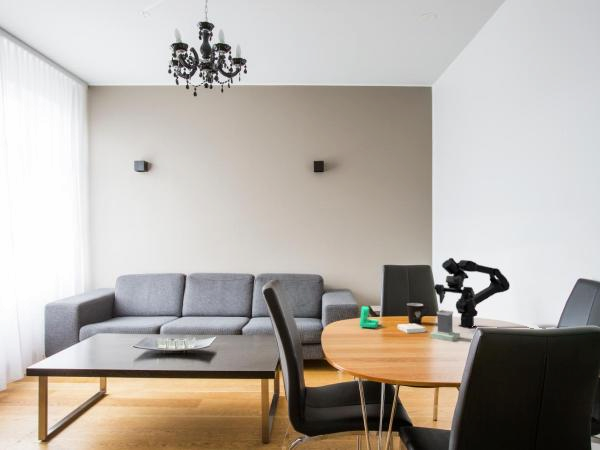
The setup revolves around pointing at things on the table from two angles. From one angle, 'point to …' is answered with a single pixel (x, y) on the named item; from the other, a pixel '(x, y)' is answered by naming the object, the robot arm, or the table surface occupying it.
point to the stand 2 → (445, 336)
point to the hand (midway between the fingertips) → (449, 304)
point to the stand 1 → (411, 328)
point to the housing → (445, 322)
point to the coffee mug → (415, 312)
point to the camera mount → (365, 321)
